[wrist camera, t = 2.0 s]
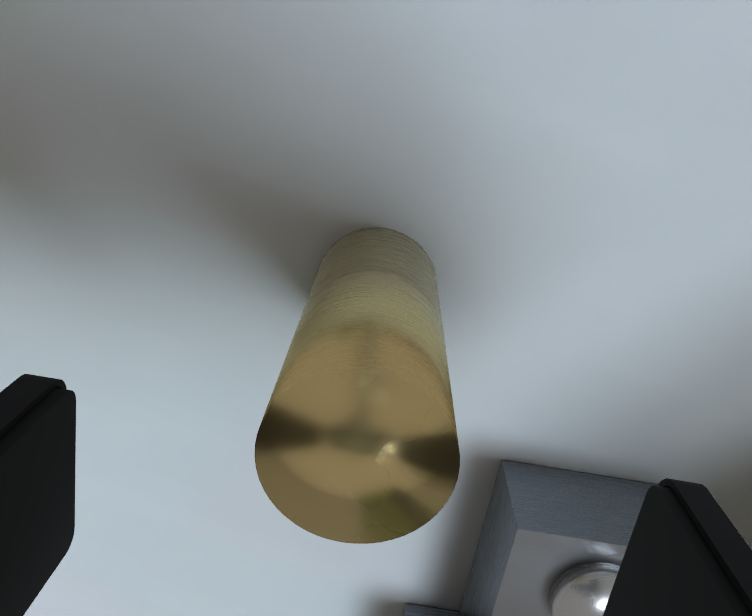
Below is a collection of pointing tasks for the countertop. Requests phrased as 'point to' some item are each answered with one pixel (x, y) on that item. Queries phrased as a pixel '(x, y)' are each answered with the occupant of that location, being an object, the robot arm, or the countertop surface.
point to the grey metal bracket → (548, 544)
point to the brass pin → (363, 398)
